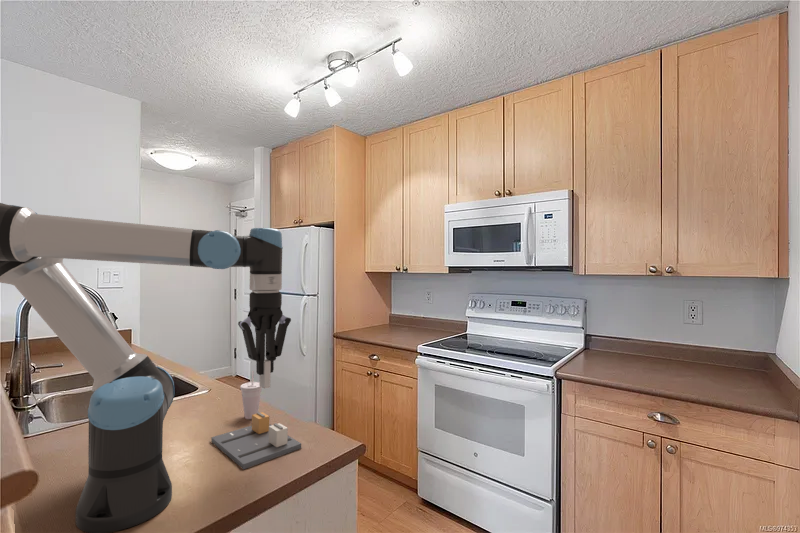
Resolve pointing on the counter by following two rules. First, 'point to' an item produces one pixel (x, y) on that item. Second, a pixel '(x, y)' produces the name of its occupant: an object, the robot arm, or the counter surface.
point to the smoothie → (251, 397)
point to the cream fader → (278, 435)
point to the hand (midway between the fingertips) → (264, 386)
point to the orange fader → (260, 422)
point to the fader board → (251, 446)
